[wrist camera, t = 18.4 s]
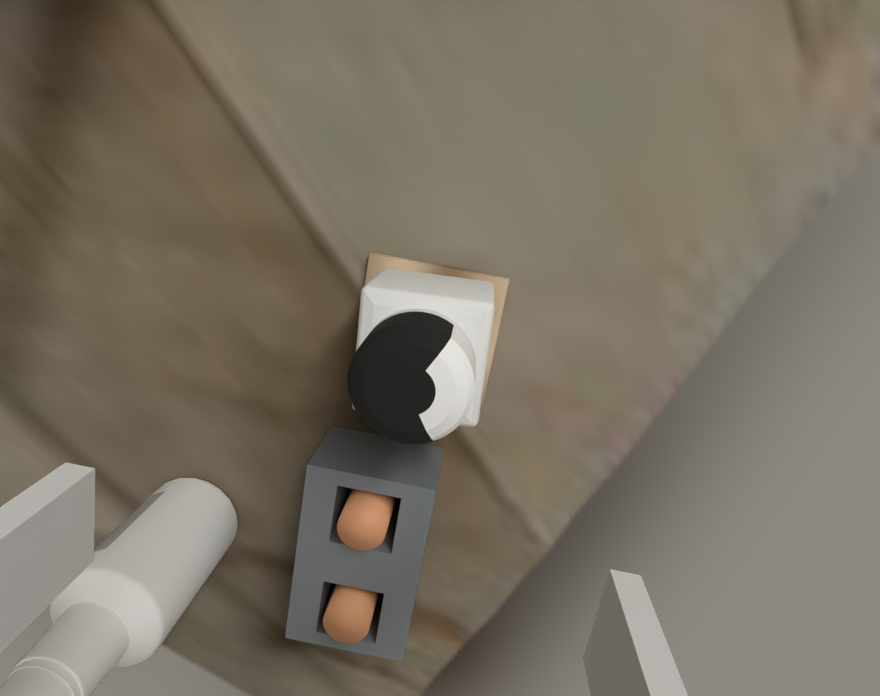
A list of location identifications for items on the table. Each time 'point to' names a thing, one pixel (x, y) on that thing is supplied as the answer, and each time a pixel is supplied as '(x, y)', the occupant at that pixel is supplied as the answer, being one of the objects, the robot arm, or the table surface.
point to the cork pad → (500, 283)
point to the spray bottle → (129, 591)
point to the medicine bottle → (421, 354)
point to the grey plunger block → (332, 562)
